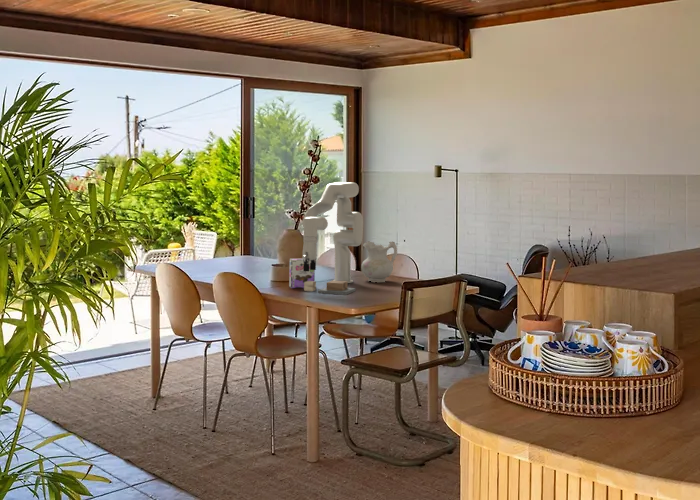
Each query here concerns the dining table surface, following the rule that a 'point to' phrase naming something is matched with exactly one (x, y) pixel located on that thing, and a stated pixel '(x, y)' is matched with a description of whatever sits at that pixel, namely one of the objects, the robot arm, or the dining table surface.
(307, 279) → the candy box
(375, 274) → the ceramic pitcher
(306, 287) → the maple cube
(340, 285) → the grey brown stepped pedestal
